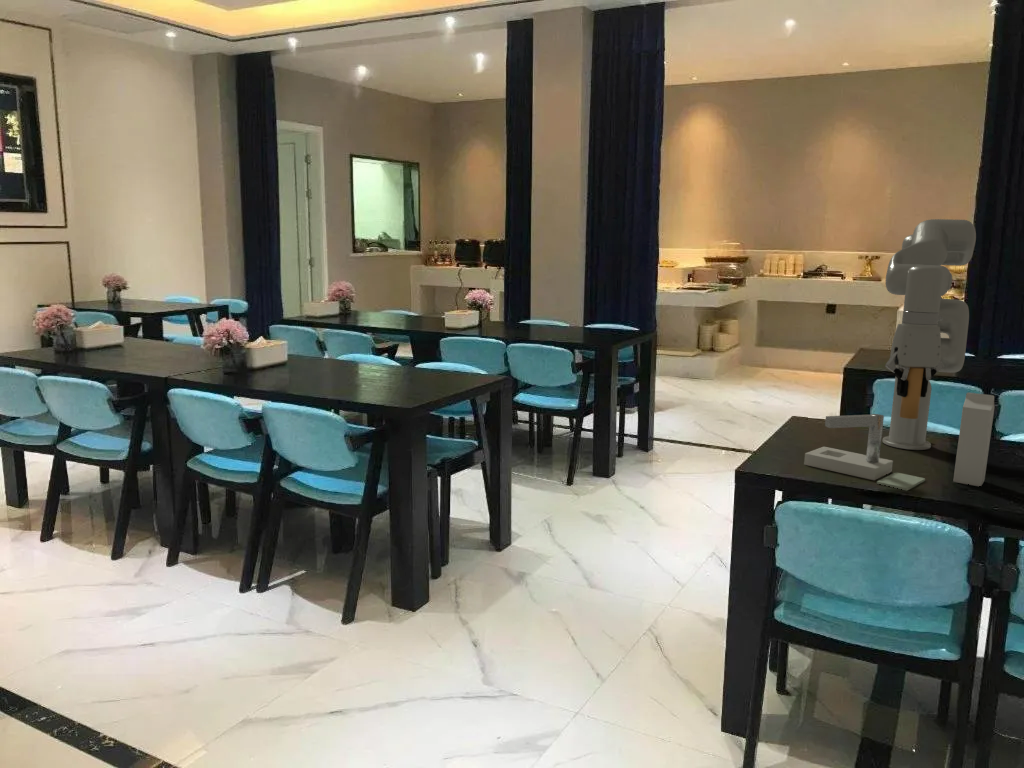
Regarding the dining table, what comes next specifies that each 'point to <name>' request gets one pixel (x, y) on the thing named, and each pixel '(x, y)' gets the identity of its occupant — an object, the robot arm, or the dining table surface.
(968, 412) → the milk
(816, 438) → the dining table surface
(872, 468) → the gray rectangular base
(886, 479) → the mat
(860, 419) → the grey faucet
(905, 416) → the tan rectangular bar
